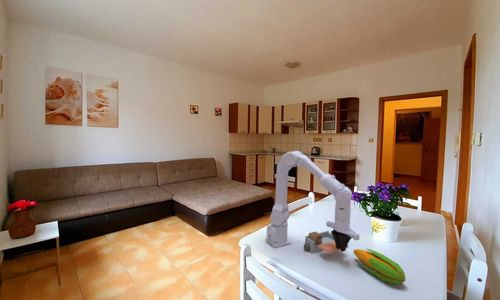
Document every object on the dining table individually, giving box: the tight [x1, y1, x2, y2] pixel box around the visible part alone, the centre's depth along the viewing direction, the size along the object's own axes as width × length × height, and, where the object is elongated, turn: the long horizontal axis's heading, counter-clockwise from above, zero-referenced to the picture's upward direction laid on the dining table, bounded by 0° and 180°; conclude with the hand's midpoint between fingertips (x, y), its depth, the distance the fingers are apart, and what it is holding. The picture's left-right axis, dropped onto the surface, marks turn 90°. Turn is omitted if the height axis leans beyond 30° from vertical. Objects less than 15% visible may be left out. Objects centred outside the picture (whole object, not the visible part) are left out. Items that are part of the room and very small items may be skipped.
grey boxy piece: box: [303, 230, 334, 254], centre depth 98 cm, size 16×5×6 cm, turn 117°
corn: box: [352, 248, 406, 285], centre depth 81 cm, size 7×8×20 cm
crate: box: [308, 231, 322, 246], centre depth 96 cm, size 4×4×4 cm
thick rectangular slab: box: [318, 241, 349, 255], centre depth 92 cm, size 11×1×6 cm
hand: (340, 249), depth 88 cm, fingers closed
